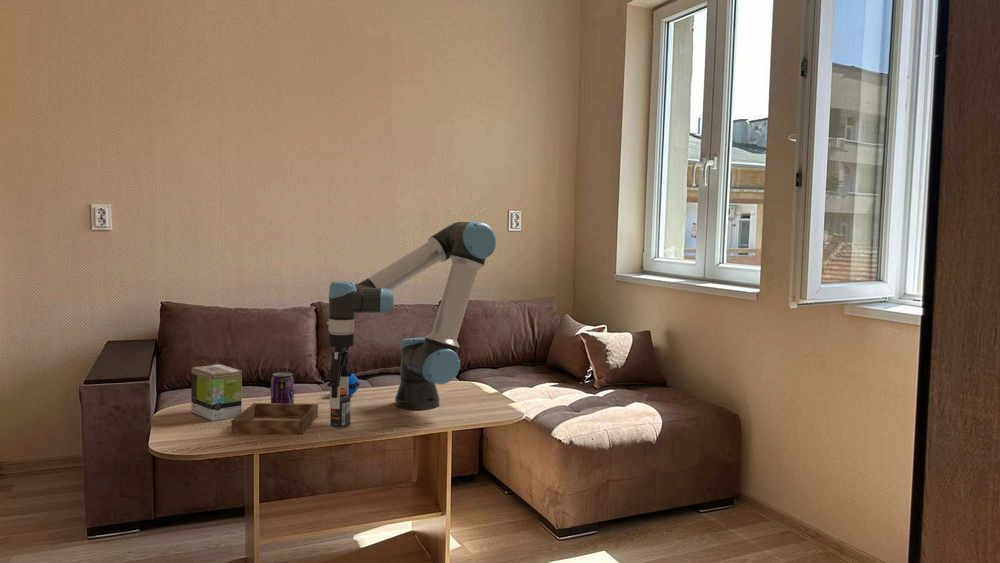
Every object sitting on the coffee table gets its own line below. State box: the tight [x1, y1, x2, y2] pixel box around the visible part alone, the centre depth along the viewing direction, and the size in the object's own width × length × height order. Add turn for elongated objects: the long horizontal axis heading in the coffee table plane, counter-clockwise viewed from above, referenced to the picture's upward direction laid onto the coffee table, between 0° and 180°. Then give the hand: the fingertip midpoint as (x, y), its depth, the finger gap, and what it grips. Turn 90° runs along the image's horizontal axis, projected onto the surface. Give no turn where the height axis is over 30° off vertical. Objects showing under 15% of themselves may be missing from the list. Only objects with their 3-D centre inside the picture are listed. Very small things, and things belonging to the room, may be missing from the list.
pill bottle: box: [329, 388, 352, 429], centre depth 210 cm, size 6×6×11 cm
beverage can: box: [270, 371, 295, 404], centre depth 226 cm, size 7×7×12 cm
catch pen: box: [231, 402, 319, 436], centre depth 210 cm, size 20×20×4 cm
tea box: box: [190, 363, 243, 422], centre depth 219 cm, size 15×10×15 cm, turn 47°
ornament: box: [341, 372, 360, 397], centre depth 248 cm, size 9×9×10 cm
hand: (339, 402), depth 210 cm, fingers open, 13 cm apart
